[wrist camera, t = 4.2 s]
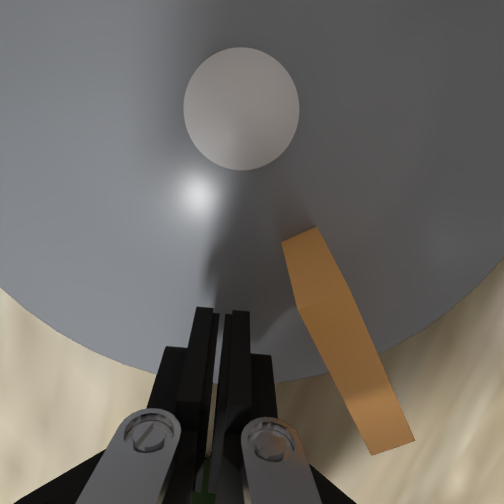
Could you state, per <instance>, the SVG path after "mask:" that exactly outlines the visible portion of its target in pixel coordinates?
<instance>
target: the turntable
mask: <svg viewBox="0 0 504 504" xmlns="http://www.w3.org/2000/svg"><path fill="white" fill-rule="evenodd" d="M503 257H504V0H0V287H1V288H2V289H3V290H4V291H5V292H6V293H7V294H9V295H10V296H11V297H12V298H13V299H14V300H16V301H17V302H18V303H19V304H20V305H21V306H22V307H24V308H25V309H26V310H27V311H29V312H30V313H32V314H33V315H34V316H36V317H37V318H39V319H40V320H42V321H43V322H44V323H46V324H47V325H49V326H50V327H52V328H53V329H54V330H56V331H57V332H59V333H61V334H63V335H64V336H66V337H68V338H70V339H72V340H73V341H75V342H77V343H79V344H81V345H82V346H84V347H86V348H88V349H90V350H92V351H94V352H96V353H99V354H101V355H103V356H106V357H108V358H110V359H113V360H115V361H117V362H120V363H122V364H125V365H128V366H131V367H134V368H138V369H141V370H144V371H147V372H150V373H154V374H157V372H158V369H159V366H160V362H161V359H162V356H163V352H164V349H165V347H166V346H173V347H184V348H187V347H188V343H189V338H190V333H191V329H192V324H193V320H194V315H195V310H196V307H197V306H198V307H209V308H214V310H213V313H220V317H219V327H218V336H217V346H216V356H215V365H214V375H213V384H218V376H219V367H220V358H221V349H222V340H223V331H224V321H225V314H232V310H240V311H249V312H250V346H251V353H253V354H265V355H271V357H272V366H273V376H274V383H276V382H285V381H293V380H298V379H302V378H307V377H311V376H316V375H321V374H325V373H328V372H329V373H330V375H331V377H332V379H333V381H334V383H335V385H336V387H337V389H338V391H339V393H340V394H341V396H342V398H343V400H344V402H345V404H346V406H347V408H348V410H349V412H350V414H351V416H352V418H353V420H354V422H355V424H356V426H357V428H358V430H359V432H360V434H361V436H362V438H363V440H364V442H365V444H366V446H367V448H368V450H369V452H370V454H371V456H372V455H375V454H378V453H381V452H384V451H387V450H390V449H393V448H396V447H399V446H401V445H404V444H407V443H410V442H413V441H415V439H414V437H413V434H412V432H411V430H410V427H409V425H408V423H407V420H406V418H405V416H404V413H403V411H402V409H401V407H400V404H399V402H398V400H397V397H396V395H395V393H394V390H393V388H392V386H391V383H390V381H389V379H388V377H387V374H386V372H385V370H384V367H383V365H382V363H381V360H380V358H379V356H378V354H379V353H381V352H383V351H386V350H388V349H390V348H392V347H394V346H395V345H397V344H399V343H400V342H402V341H404V340H406V339H407V338H409V337H411V336H413V335H414V334H416V333H418V332H420V331H421V330H423V329H424V328H425V327H427V326H428V325H430V324H431V323H432V322H434V321H435V320H437V319H438V318H439V317H441V316H442V315H443V314H445V313H446V312H448V311H449V310H450V309H452V308H453V307H454V306H455V305H456V304H457V303H458V302H460V301H461V300H462V299H463V298H464V297H465V296H466V295H467V294H468V293H470V292H471V291H472V290H473V289H474V288H475V287H476V286H477V285H479V284H480V283H481V282H482V281H483V279H484V278H485V277H486V276H487V275H488V274H489V273H490V272H491V271H492V270H493V268H494V267H495V266H496V265H497V264H498V263H499V262H500V261H501V260H502V259H503Z"/></svg>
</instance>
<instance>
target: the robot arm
mask: <svg viewBox="0 0 504 504" xmlns="http://www.w3.org/2000/svg"><path fill="white" fill-rule="evenodd" d="M213 310H214V308H209V307H198V306H197V307H196V310H195V315H194V320H193V324H192V329H191V333H190V338H189V343H188V347H187V348H184V347H173V346H166V347H165V349H164V352H163V356H162V359H161V362H160V366H159V369H158V372H157V375H156V379H155V382H154V385H153V389H152V392H151V395H150V399H149V402H148V405H147V408H146V409H143V410H139V411H137V412H135V413H132V414H131V415H130V416H128V417H127V418H125V419H124V421H123V422H122V423H121V424H120V426H119V427H118V429H117V431H116V433H115V434H114V436H113V438H112V440H111V441H110V443H109V445H108V447H107V449H105V450H103V451H102V452H100V453H98V454H96V455H95V456H93V457H91V458H90V459H88V460H86V461H84V462H83V463H81V464H79V465H78V466H76V467H74V468H72V469H71V470H69V471H67V472H66V473H64V474H62V475H60V476H59V477H57V478H55V479H54V480H52V481H50V482H48V483H47V484H45V485H43V486H42V487H40V488H38V489H36V490H35V491H33V492H31V493H30V494H28V495H26V496H24V497H23V498H21V499H19V500H18V501H16V502H15V503H14V504H191V503H192V495H193V492H201V488H202V479H203V470H204V460H205V451H206V441H207V432H208V423H209V413H210V404H211V394H212V385H213V375H214V365H215V356H216V346H217V336H218V327H219V317H220V313H213ZM208 493H216V500H215V504H356V503H355V502H354V501H353V500H352V499H350V498H349V497H348V496H347V495H346V494H344V493H343V492H342V491H341V490H340V489H338V488H337V487H336V486H335V485H334V484H333V483H331V482H330V481H329V480H328V479H327V478H325V477H324V476H323V475H322V474H321V473H319V472H318V471H317V470H316V469H315V468H314V467H312V466H311V465H310V464H309V463H308V460H307V457H306V454H305V451H304V448H303V445H302V442H301V439H300V437H299V435H298V433H297V432H296V431H295V429H294V428H293V427H292V426H291V425H289V424H288V423H286V422H284V421H283V420H280V419H278V415H277V405H276V395H275V385H274V376H273V366H272V357H271V355H265V354H253V353H251V346H250V312H249V311H240V310H232V314H225V321H224V331H223V340H222V349H221V358H220V367H219V376H218V386H217V396H216V407H215V419H214V430H213V441H212V452H211V463H210V475H209V486H208Z"/></svg>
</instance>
